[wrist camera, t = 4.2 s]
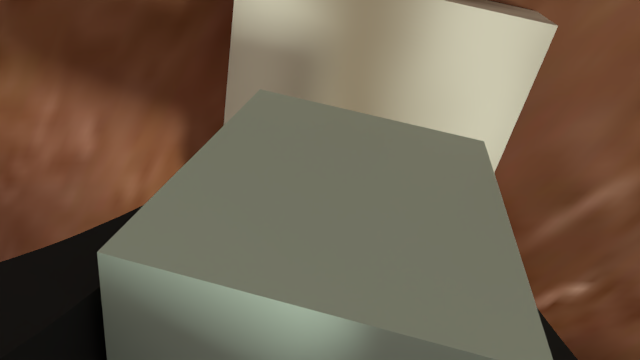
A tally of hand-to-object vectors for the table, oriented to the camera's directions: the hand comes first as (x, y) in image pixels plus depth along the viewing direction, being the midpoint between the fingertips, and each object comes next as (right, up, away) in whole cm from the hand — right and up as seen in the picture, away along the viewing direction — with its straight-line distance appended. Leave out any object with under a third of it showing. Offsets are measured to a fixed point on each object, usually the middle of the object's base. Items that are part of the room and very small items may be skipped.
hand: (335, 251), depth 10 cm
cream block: (+1, +4, +8) cm, 9 cm away
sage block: (0, +1, +1) cm, 2 cm away
